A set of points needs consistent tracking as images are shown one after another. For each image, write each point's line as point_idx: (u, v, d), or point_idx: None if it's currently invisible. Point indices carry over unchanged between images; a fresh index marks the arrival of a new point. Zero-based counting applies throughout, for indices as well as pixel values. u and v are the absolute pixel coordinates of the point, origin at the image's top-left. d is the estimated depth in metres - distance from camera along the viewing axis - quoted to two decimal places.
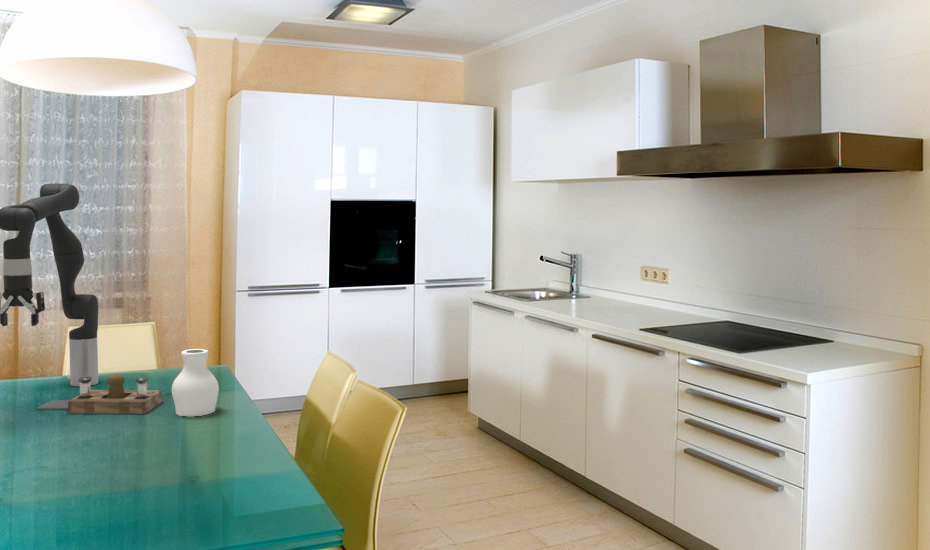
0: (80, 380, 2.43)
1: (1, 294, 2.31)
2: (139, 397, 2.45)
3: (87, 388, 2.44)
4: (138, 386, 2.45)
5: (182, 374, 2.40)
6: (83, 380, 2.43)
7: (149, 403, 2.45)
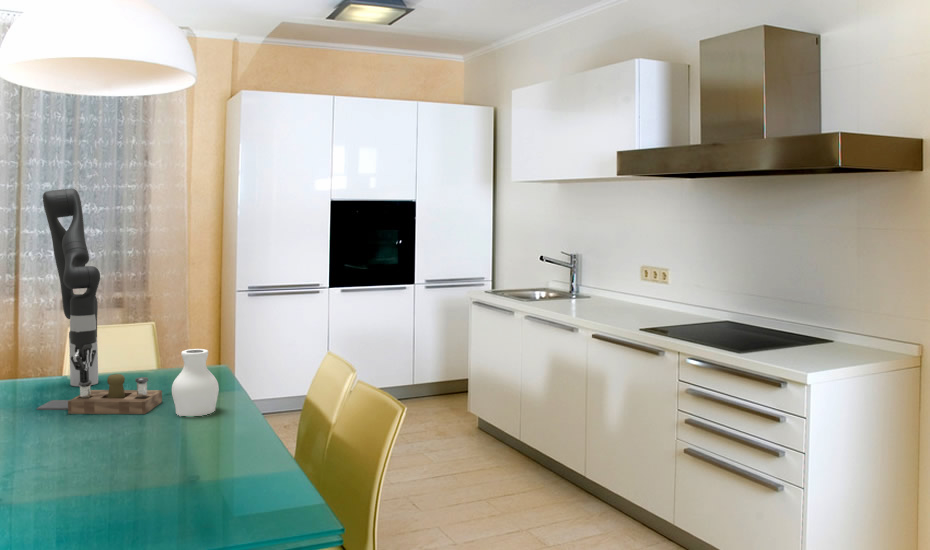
0: (80, 384, 2.43)
1: (78, 354, 2.40)
2: (139, 397, 2.45)
3: (87, 392, 2.44)
4: (138, 386, 2.45)
5: (182, 374, 2.40)
6: (83, 384, 2.43)
7: (149, 403, 2.45)
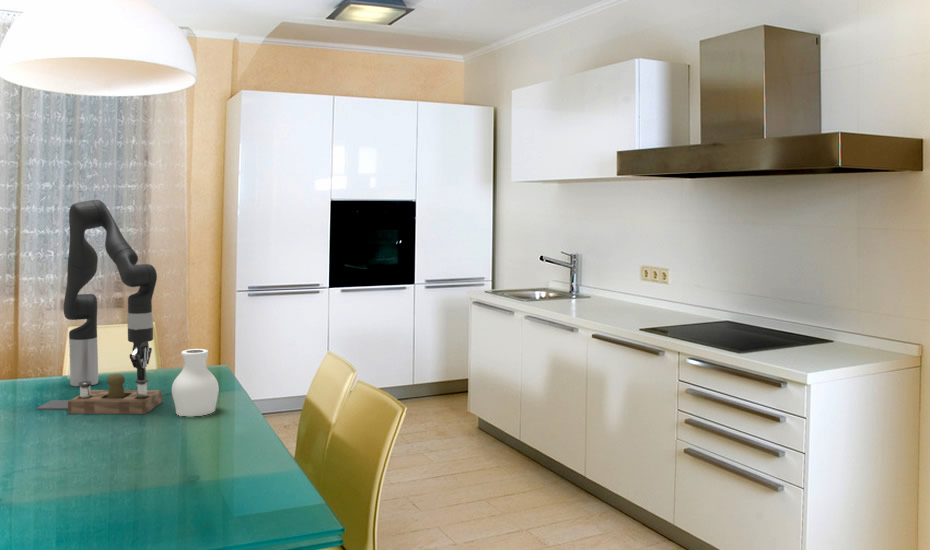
0: (80, 384, 2.43)
1: (137, 352, 2.40)
2: (139, 398, 2.45)
3: (87, 393, 2.44)
4: (138, 387, 2.45)
5: (182, 374, 2.40)
6: (83, 384, 2.43)
7: (149, 403, 2.45)
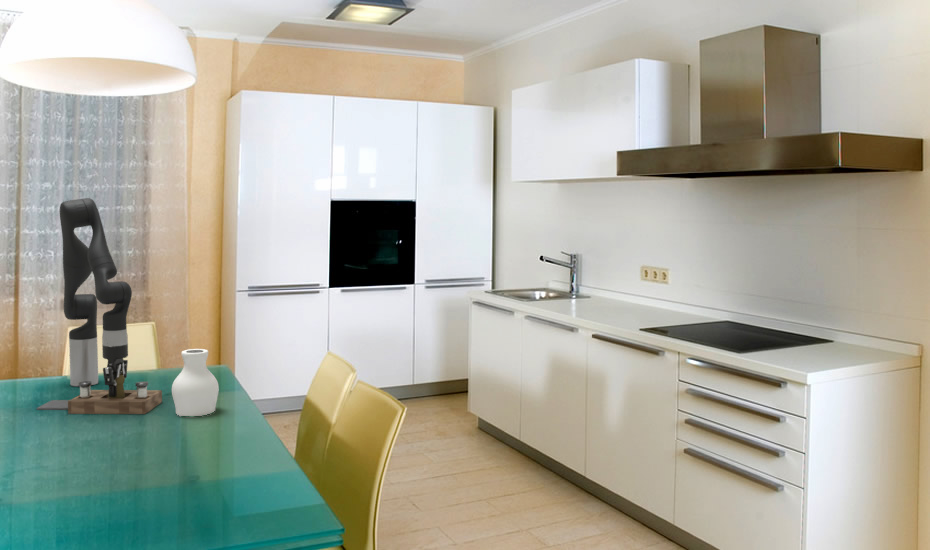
0: (80, 384, 2.43)
1: (111, 367, 2.42)
2: None
3: (87, 393, 2.44)
4: (138, 390, 2.45)
5: (182, 374, 2.40)
6: (83, 384, 2.43)
7: (149, 403, 2.45)
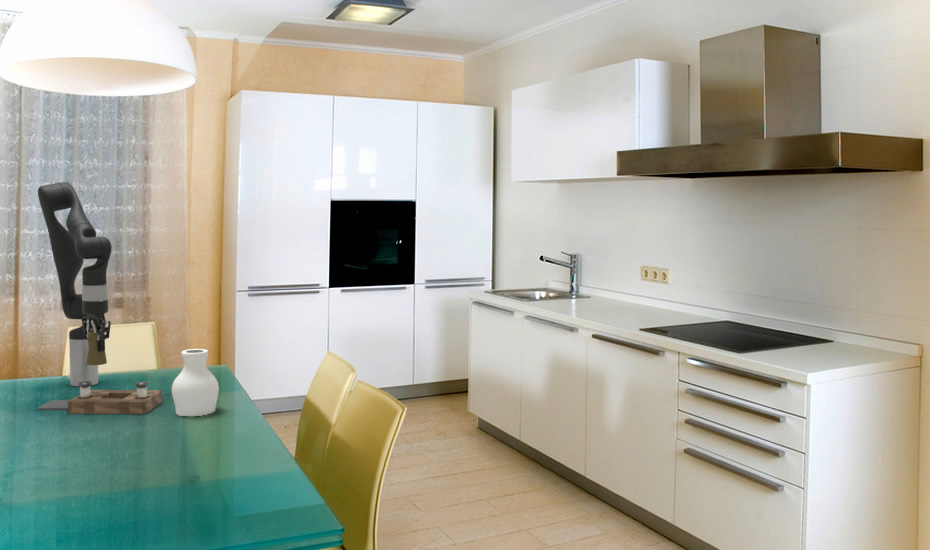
0: (80, 384, 2.43)
1: None
2: None
3: (87, 393, 2.44)
4: (138, 390, 2.45)
5: (182, 374, 2.40)
6: (83, 384, 2.43)
7: (149, 403, 2.45)
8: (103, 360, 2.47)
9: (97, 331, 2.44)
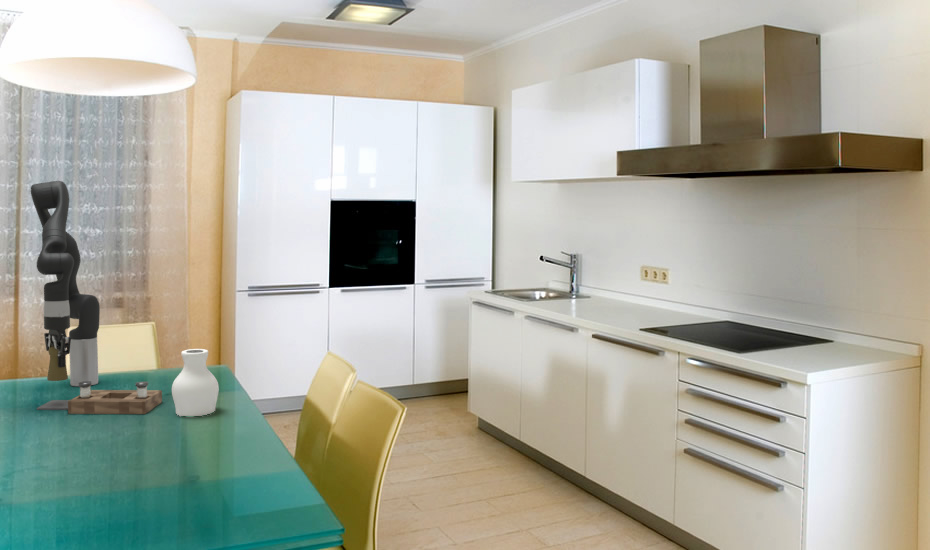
0: (80, 384, 2.43)
1: None
2: None
3: (87, 393, 2.44)
4: (138, 390, 2.45)
5: (182, 374, 2.40)
6: (83, 384, 2.43)
7: (149, 403, 2.45)
8: (63, 376, 2.47)
9: (57, 347, 2.45)
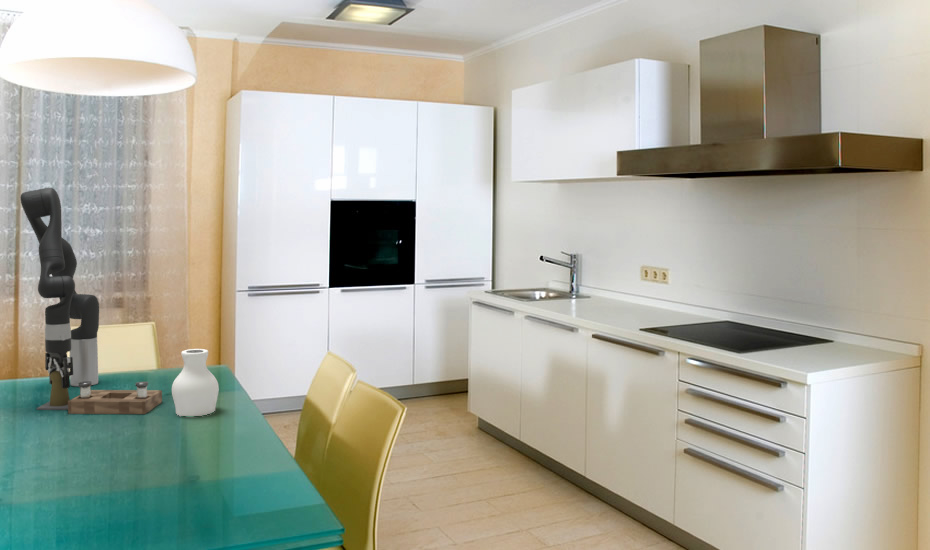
0: (80, 384, 2.43)
1: None
2: None
3: (87, 393, 2.44)
4: (138, 390, 2.45)
5: (182, 374, 2.40)
6: (83, 384, 2.43)
7: (149, 403, 2.45)
8: (66, 401, 2.48)
9: (60, 368, 2.45)
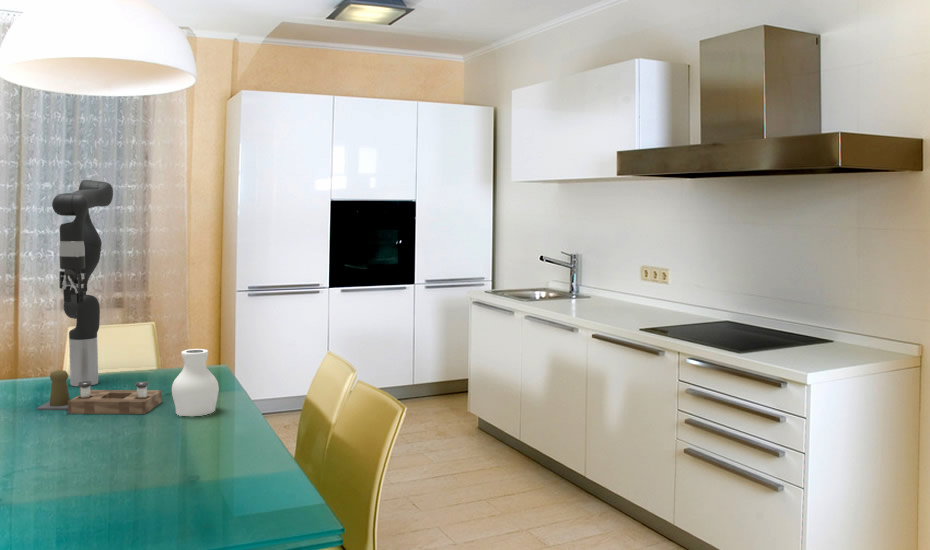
0: (80, 384, 2.43)
1: None
2: None
3: (87, 393, 2.44)
4: (138, 390, 2.45)
5: (182, 374, 2.40)
6: (83, 384, 2.43)
7: (149, 403, 2.45)
8: (66, 401, 2.48)
9: (74, 284, 2.50)
